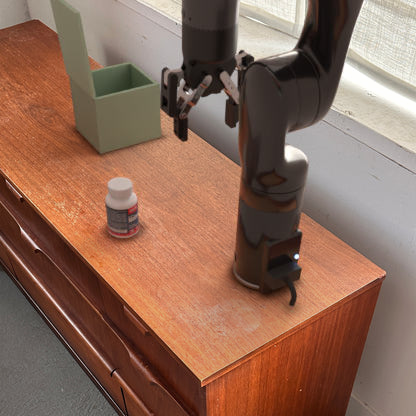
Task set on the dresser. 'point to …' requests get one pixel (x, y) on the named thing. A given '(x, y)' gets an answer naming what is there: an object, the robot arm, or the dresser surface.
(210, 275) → the dresser surface
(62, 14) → the lid
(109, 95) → the chest
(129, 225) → the pill bottle
